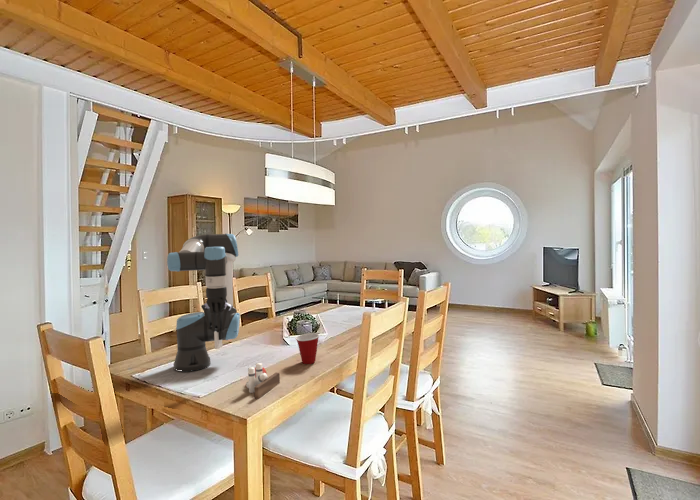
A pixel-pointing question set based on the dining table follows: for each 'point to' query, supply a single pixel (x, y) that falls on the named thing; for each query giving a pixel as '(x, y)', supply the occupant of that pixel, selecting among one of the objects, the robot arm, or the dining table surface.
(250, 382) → the pin
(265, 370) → the ball
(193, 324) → the robot arm
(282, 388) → the dining table surface
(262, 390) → the stopper wall
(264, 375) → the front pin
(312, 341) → the plastic cup
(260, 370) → the pin
